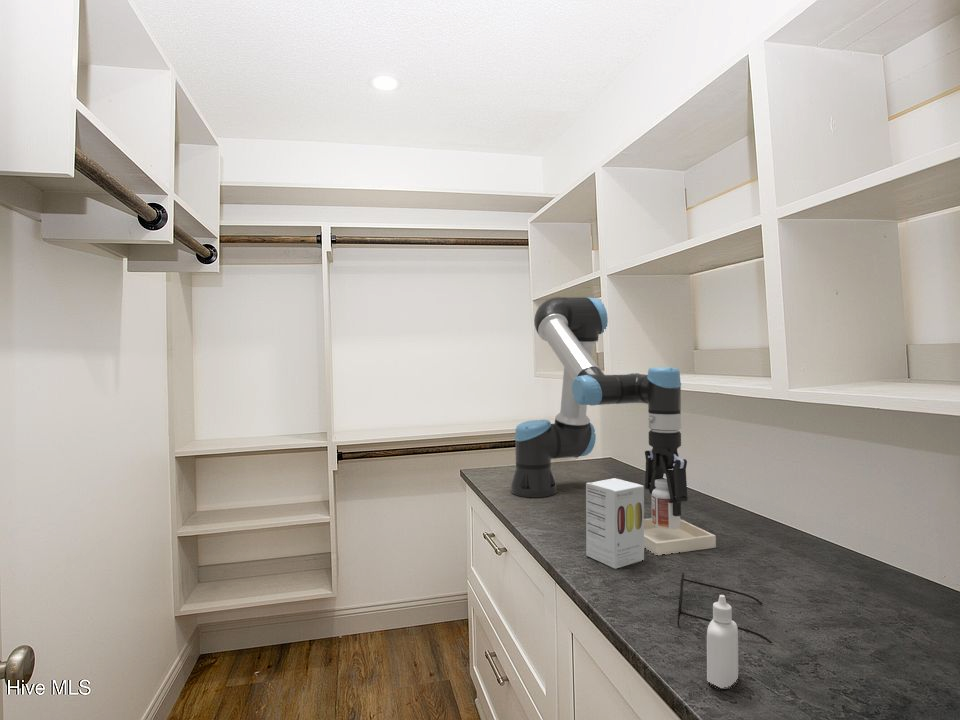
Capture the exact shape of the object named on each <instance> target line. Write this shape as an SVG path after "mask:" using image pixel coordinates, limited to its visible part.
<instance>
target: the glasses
mask: <svg viewBox="0 0 960 720" xmlns="http://www.w3.org/2000/svg"><path fill="white" fill-rule="evenodd" d="M684 582H689V583H693V584H697V585H701V586H705V587H708V588H709V587H710V588H714V589H719V590H723V591H726V592H729V593H734V594H737V595H741V596H745V597H748V598H750V599H752V600H754V601H756V602H757V603H759V604H760V605H762V604H764V603H763V602H762V601H760V599H757V598H756V597H754V596H752V595H750V594H746V593H744V592H740V591H737V590H734V589H733V590H732V589H729V588H725V587H722V586H717V585H712V584H708V583H703V582H699V581H695V580H691V579H687V578H685V573H684V572H682V573H681V578H680V591H679V599H678V608H677V609H678V610H677V611H678V612H677V625H680V618H681V615H684V616H688V617H690V618H695V619H699V620H701V621H706V622H709V623H710V622H711V621H712V620H713V619H710V618H706V617H703V616H698V615H695V614H690V613H687V612H683V611H682V606H683V600H684V595H683V594H684V590H683V589H684ZM737 627H738V631H739V630H740V631H744V632H746V633H750V634H752V635H756V636H757V637H760V638H762V639H764V640H765V641H766V642H767V643H770V644H771V643H773V642H772V641H771V640H770V639H769V638H768V637H766V636H765V635H763V634H760V633H758V632H756V631H753V630H750V629H747V628H743V627H740V626H737Z"/></svg>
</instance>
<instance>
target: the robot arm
mask: <svg viewBox="0 0 960 720" xmlns="http://www.w3.org/2000/svg"><path fill="white" fill-rule="evenodd" d="M607 312H608V311H607V308H606V307H605V305H604V303H603V302H602V300H600V299H598V298H597V297H587V296H586V297H585V296H583V297H582V296H579V297H577V296H575V297H573V296H570V297H566V296H564V297H563V296H562V297H561V296H554V297H551V298H548V299H546V300H545V301H543V302H542V303H541V304H540V305H539V306H538V308H537V309H536V312H535V314H534V320H533V321H534V327H535V331H536V333H537V334H538V336H539V337H540V338H541V339H542V340H543V341H545V342H547V343H548V345H549V347H550V348H551V349H552V351H553V352H554V354H555V355H556V356H557V358H558V359H559V361H560V362H561V364H562V366H563V376H562V388H561V389H562V390H561V397H560V398H561V399H560V400H561V401H560V409H559V413H557V414H556V415H555V418H554V423H551V421H550V420H548V419H534V420H527V421H523V422H520V423H519V424H518V425H516V427H515V434H514V435H515V436H514V441H515V443H514V446H515V470H514V473H513V476H512V480H511V484H510V493H511V494H513V495H516V496H519V497H522V498H523V497H524V498H545V497H551V496H554V495H555V494H556V493H557V489H558V488H557V483H556V479H555V476H554V474H553V471H552V463H551V461H552V460H554V459H567V458H568V459H569V458H579V457H585V456H588V455H589V454H590V453H591V452H592V451H594V450H593V449H594V447H595V445H596V436H597V435H596V433H595V432H596V429H595V427H594V425H593V423H591V420H590V419H591V418H589V416H587V409H588V406H593V407H594V406H599V405H600V406H602V405H615V404H616V405H618V404H619V405H620V404H647V405H648V411H647V412H648V429H649V431H648V445H649V446H650V447H651V448H652V449H651V450H644V456H645V475H644V477H645V478H644V479H645V481H644V489H646V490H648V492H649V494H650V505H651V506H652V491H653V490H654V489H655V488H656V487H655V480H656V479H664V475H665V479H667V484H668V489H669V494H670V499H671V500H670V501H668V515H669V529H670V530H673V529H680V519H681V515H682V502H683V503H684V502H688V498H689V497H688V485H687V466H688V461H687V459H686V458H683V459H682V458H681V457H679V455H680V454H679V453H678V449H679V448H681V446H682V433H681V431H680V430H681V429H682V413H681V410H682V406H681V404H682V400H681V399H682V398H681V394H682V393H681V392H682V391H681V390H682V382H681V374H680V373H681V372H680V369H679V368H677V367H674V366H673V367H672V366H671V367H670V366H668V367H667V366H662V367H661V366H659V367H653V366H652V367H649V368H648V371H647V374H645V373H637V372H636V373H634V372H633V373H628V374H604V372H603V371H602V369H600V367H599V365H597V363H596V362H595V361H594V359H593V349H594V348H593V347H594V345H595V344H597V343H598V342H599V335H602V334H603V333H604V329H605V330H606V329H607V328H608V323H609V321H608V319H609V318H608V313H607ZM606 327H607V328H606Z"/></svg>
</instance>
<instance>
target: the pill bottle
mask: <svg viewBox="0 0 960 720" xmlns="http://www.w3.org/2000/svg"><path fill="white" fill-rule="evenodd" d="M655 487H656V488H655V489H654V490H653V491H652V505H651V518H652V523H653V525H654V526H655V527H658V528H662V529H669V515H668V501H670V500H671V499H670V494H669V489H668V484H667V479H666V478H663V479H656V480H655Z"/></svg>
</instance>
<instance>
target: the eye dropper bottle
mask: <svg viewBox="0 0 960 720" xmlns="http://www.w3.org/2000/svg"><path fill="white" fill-rule="evenodd" d="M732 613H733V608H732V606H731V605H730V604H729V603H728V602H727V599H726V596H725V595H724V594H719V597H718V601H715V602H713V604H712V619H711V620H712V621H711V622H709V624H708V626H707V629H706V681H708V682H710V683H712V684H714V685H716V686H718V687H720V688H724V687H728V686H731V685H732V684H733V683H734V682H736V680H737V679H739V629H738V627H739V626H738V625H737V623H736V621H734V620H733V617H732V616H733V614H732ZM737 681H738V680H737ZM708 682H707V683H708ZM736 683H737V682H736Z"/></svg>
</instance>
